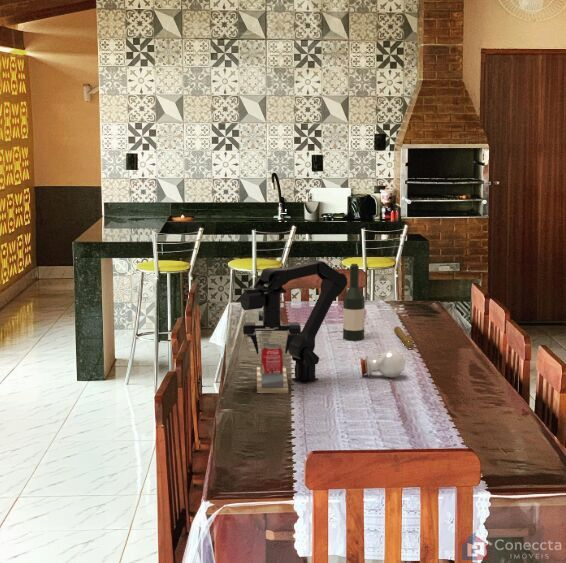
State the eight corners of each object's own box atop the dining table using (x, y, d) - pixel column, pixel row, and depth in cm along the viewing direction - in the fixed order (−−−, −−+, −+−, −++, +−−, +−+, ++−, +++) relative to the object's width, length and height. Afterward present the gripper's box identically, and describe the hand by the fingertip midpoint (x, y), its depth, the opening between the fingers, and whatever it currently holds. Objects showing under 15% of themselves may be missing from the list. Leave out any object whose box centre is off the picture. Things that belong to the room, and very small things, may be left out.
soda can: (270, 377, 332) (270, 342, 330) (287, 381, 327) (287, 345, 325) (256, 381, 326) (257, 346, 324) (273, 385, 322) (274, 349, 320)
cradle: (288, 393, 318) (288, 376, 317) (257, 393, 318) (256, 377, 317) (285, 370, 346) (285, 355, 345) (256, 370, 346) (256, 355, 345)
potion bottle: (407, 382, 336) (363, 386, 338) (405, 360, 343) (362, 364, 345) (405, 364, 330) (360, 369, 332) (403, 342, 337) (359, 346, 338)
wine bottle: (364, 341, 390) (365, 265, 385) (343, 341, 390) (344, 265, 385) (363, 336, 398) (364, 262, 393) (342, 336, 398) (343, 262, 393)
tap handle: (401, 325, 405) (414, 342, 375) (400, 333, 405) (414, 350, 376) (393, 326, 405) (406, 342, 375) (393, 333, 405) (406, 350, 376)
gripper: (299, 302, 331) (299, 348, 333) (243, 302, 330) (243, 348, 333) (301, 309, 320) (300, 356, 322) (243, 309, 319) (243, 356, 322)
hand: (271, 353), depth 325 cm, fingers open, 9 cm apart
